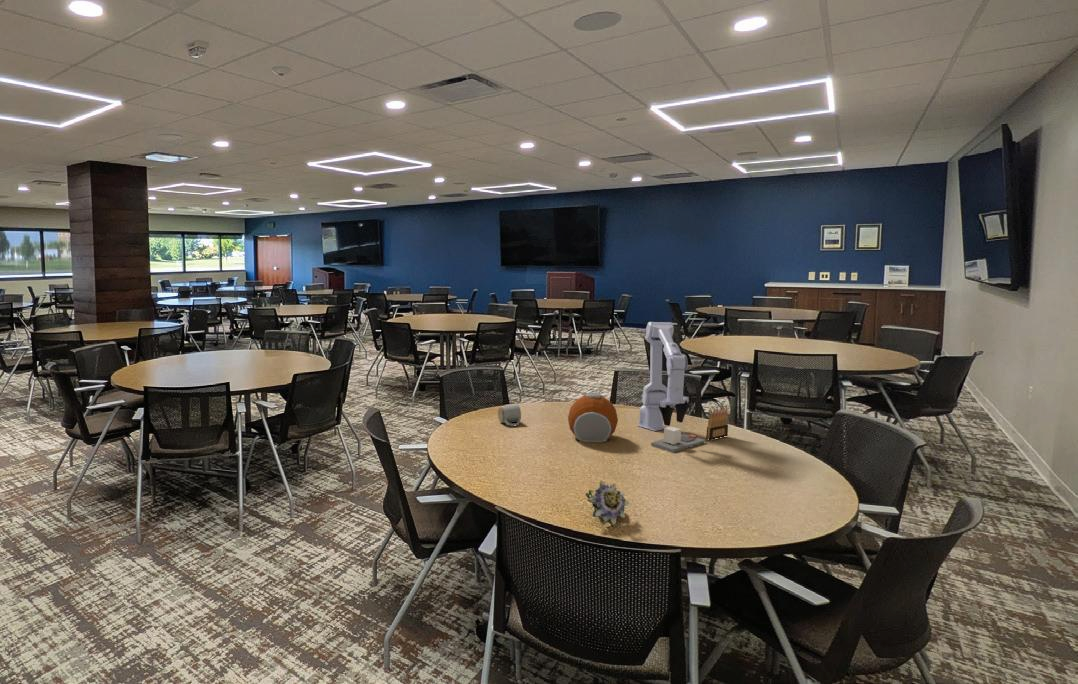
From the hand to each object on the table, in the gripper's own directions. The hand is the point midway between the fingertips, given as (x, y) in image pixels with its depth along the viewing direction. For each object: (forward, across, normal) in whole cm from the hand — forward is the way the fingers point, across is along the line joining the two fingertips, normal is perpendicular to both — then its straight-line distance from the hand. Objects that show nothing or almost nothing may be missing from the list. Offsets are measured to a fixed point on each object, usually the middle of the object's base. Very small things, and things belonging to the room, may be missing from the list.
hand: (673, 423), depth 213 cm
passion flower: (+9, -65, -28) cm, 71 cm away
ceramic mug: (+9, -31, +59) cm, 67 cm away
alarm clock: (+9, -17, +25) cm, 31 cm away
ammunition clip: (+9, +23, -4) cm, 25 cm away
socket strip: (+9, +4, 0) cm, 9 cm away
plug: (+9, 0, 0) cm, 9 cm away
